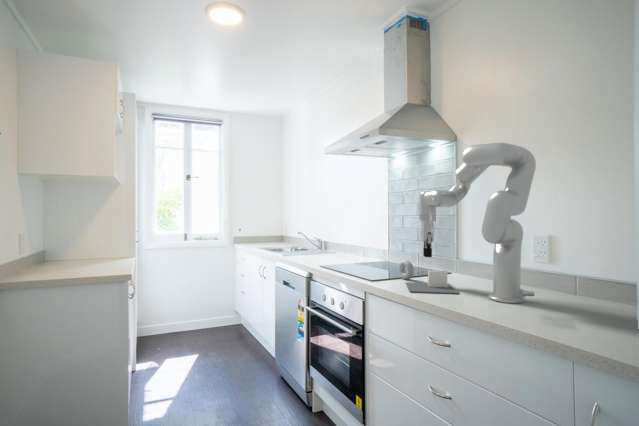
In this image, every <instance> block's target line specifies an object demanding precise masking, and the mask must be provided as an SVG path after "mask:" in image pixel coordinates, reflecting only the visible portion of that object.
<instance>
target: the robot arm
mask: <svg viewBox="0 0 639 426" xmlns="http://www.w3.org/2000/svg"><path fill="white" fill-rule="evenodd" d="M461 158H462V162H463V163H462V164H461V165H460V166H459V167H458V168H457V169H456V170H455V173H454V174H455V177H456V178H457V182H456V183H455V184H454V185H453V186H452V187H451V188H450V189H449V190H443V189H442V190H441V189H440V190H438V189H437V190H432V191H421V192H420V193H419V221H420V222H421V223H420V241H421V242H423V249H422V250H423V251H422V252H423V257H425V258H432V257H433V249H432V246H433V245H432V243H433V242H434V239H435V237H434V236H435V234H434V233H435V227H434V222H436V221H437V208H452V207H454V206H456V205H457V204H458V203H460V202H461V201H462V199H464V198H465V197H466V196H467V195H468V193H469V190H470V188H471V185H472V184H473V182H474V181H476V180H477V179H478V178H479V177H480V176H481V175H482V174H483V173H484V172H485V171H486V170H487V169H489V167H491V166H500V167H508V168H510V169H511V170H510V172H509V174H508V175H507V179H506V182H505V186H504V190H501V189H500V190H497V191H496V192H494V193H492V195H491V196H490V197H489V199H488V201H487V203H486V208H485V212H484V217H483V221H482V224H481V225H482V226H481V235H482V237H483V239H484V240H485V241H486V242H487V243H489V244H493V245H494V247H493V253H492V254H493V259H492V271H493V272H492V293H490V294H488V298H489V299H490V300H492V301H495V302H501V303H505V304H522V303H525V302H526V297H535V292H534V291H533V290H531V291H530V290H524V289H522V288H521V260H522V259H521V258H522V257H521V254H522V253H521V252H522V244H523V238H524V229H523V226H522V225H521V223H520V222H519V221H517V220H515V219H513V218H512V217H513V216H514V217H515V216H519V215H522V214H523V213H524V212H525V210H526V208H527V205H528V204H527V203H528V200H529V196H530V192H531V187H532V183H533V180H534V176H535V172H536V167H537V162H536V158H535V156H534V154H533V153H532V152H531V151H530V150H528V149H527V148H525V147H523V146H521V145H517V144H511V143H508V142H494V143H493V142H490V143H483V144H472V145H469V146H467V147H466V148H465V149H464V151H463V153H462V156H461Z"/></svg>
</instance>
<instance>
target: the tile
mask: <svg viewBox="0 0 639 426" xmlns="http://www.w3.org/2000/svg"><path fill="white" fill-rule="evenodd" d="M427 273H428V274H427V283H428V286H429V287H447V284H448V271H447V270H435V269H434V270H432V269H431V270H429V269H428V270H427Z"/></svg>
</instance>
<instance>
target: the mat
mask: <svg viewBox="0 0 639 426" xmlns="http://www.w3.org/2000/svg"><path fill="white" fill-rule="evenodd" d="M405 285H406V287H407V290H408V291H409V293H412V294H414V293H415V294H437V295H438V294H439V295H440V294H443V295H448V294H449V295H460V292H459V291H458V290H457V289H456V288H455V287H454V286H453V285H451V283H447V287H429V286H428V282H411V281H409V282H406V281H405Z"/></svg>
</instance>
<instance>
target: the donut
mask: <svg viewBox="0 0 639 426" xmlns="http://www.w3.org/2000/svg"><path fill="white" fill-rule="evenodd" d="M414 268H415V267H414V266H413V263H412V262H411V261H410V260H408V259H402V260H401V261H400V262H399V264H398V267H397V269H398V274H399V275H400V277H401V278H402V279H404V280H410V279H412V278H413V276H414V270H415V269H414Z"/></svg>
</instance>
